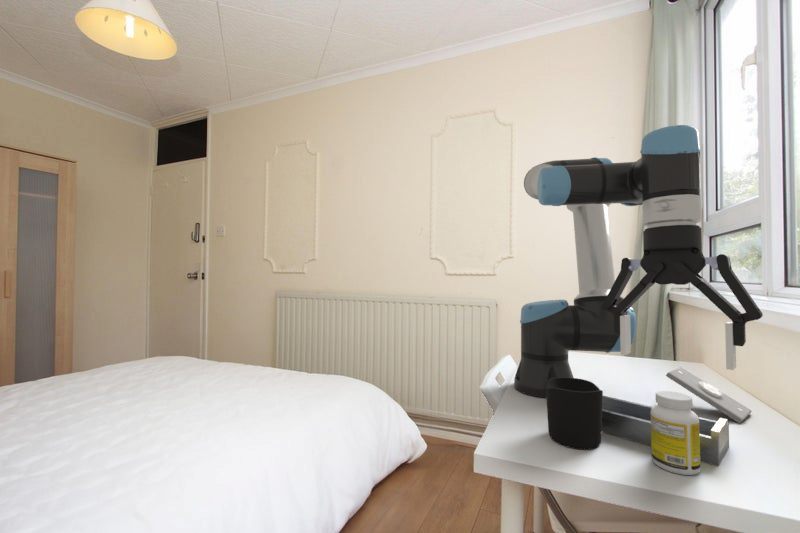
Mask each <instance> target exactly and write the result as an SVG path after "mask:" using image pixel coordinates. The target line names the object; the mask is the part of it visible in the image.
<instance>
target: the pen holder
mask: <svg viewBox="0 0 800 533" xmlns="http://www.w3.org/2000/svg"><path fill="white" fill-rule="evenodd" d="M603 393H604V392H603V390H601V389H600V388H599V387H598V386H597V385H596V384H595V383H594V382H592V381H590V380H587V379H583V378H577V377H576V378H575V377H574V378H567V377H558V378H551V379H549V380H548V381H547V383H546V397H547V398H546V412H547V428H548V435H549V437H550V438H551V440H552V441H553V442H554V443H556V444H559V445H561V446H563V447H566V448H570V449H575V450H593V449H596V448H598V447H599V446H600V445H601V444H602V432H601V429H602V399H603V396H604V394H603Z"/></svg>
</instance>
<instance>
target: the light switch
mask: <svg viewBox="0 0 800 533" xmlns="http://www.w3.org/2000/svg"><path fill="white" fill-rule="evenodd" d="M665 376H666V377H667V378H668V379H670V380H671V381H673V382H675V383H676V384H678V386H679V385H680V386H681V387H683V388H684V389H685V390H687V391H688V392H690V393H692V394H693V395H694V396H696V397H698V398H699V399H701V400H702V401H704V402H706V403H707V404H709V405H710V406H712V407H713V408H715V409H716V410H718V411H719V412H721V413H722V414H724V415H726V416H727V417H729V418H730V419H732V420H734V421H735V422H737V423H739V424H741V423H742V422H743V421H744V420H745V419H746V418H748V417H749V415H750V414H751V413H752V410H751V409H750V408H749V407H747V406H746V405H743V403H740V402H739V401H737V400H736V399H734V398H732V397H731V396H730V395H727V394H726V393H724V392H723V391H721V390H720V389H718V388H716V387H715V385H711V384H709V383H708V382H706V381H704V380H703V379H701V378H700V377H699V376H696V375H694V374H693V373H691V372H690V371H688V370H687V369H685V368H683V367H681V366H680V367H678V368H675V369H673V370H670V371H669V372H667V373H666V374H665Z"/></svg>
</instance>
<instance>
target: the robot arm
mask: <svg viewBox="0 0 800 533" xmlns="http://www.w3.org/2000/svg"><path fill="white" fill-rule="evenodd" d="M640 147H641V148H640V151H639V152H640V153H639V154H641V157H640V158H639V159H637V160H636V161H630V162H629V161H626V162H614V161H613V160H612V159H610V158H608V157H601V158H600V157H591V158H579V159H564V160H563V159H561V160H559V159H558V160H557V159H555V160H551V161H545V162H542V163H539V164H537V165H534V166H533V167H532V168H531V169H529V170H528V171H527V172H526V174H525V176H524V178H523V187H524V190H525V193H526V194H527V195H528V196H529V197H531V198H532V199H535V200H537V201H538V203H539V204H540V205H541V206H552V207H561V206H566V208H567V210H569V211H570V212H571V213H572V217H573V228H574V229H573V232H574V242H575V256H576V267H577V278H578V280H577V281H578V290H579V291H578V292H579V293H578V294H577V295H576V296H575V297H574V298H573V305H570V304H569V303H568V301H567V300H566V299H552V300H551V299H549V300H548V299H547V300H541V301H540V300H539V301H532V302H528V303H525V304H523V306H522V307H521V310H520V320H519V323H520V360H519V363H518V367H517V369H516V373H515V376H514V381H513V382H514V383H513V384H514V389H515V390H516V391H519V392H520V393H522V394H525V395H529V396H533V397H539V398H544V399H545V398H546V399H547V397H546V383H547V381H548V380H549V379H551V378H558V377H567V378H575V377H574V374H573V371H572V368H571V366H570V362H569V351H575V352H576V351H577V352H579V351H580V352H599V353H600V352H601V353H620V355H624V356H626V355H629V354H631V353H632V344H633V343H634V340H635V336H636V332H637V316H636V313H635V310H634V308H633V307H632V306H633V305H634V304H635V303H636V302H638V300H639V299H640V298H641V297H642V296H643V295H644V294H645V293H646V292H647V291H648V290H649V289H650V288H651V287H653V286H654V285H655V284H658V285H672V284H673V285H680V286H681V285H683V286H684V285H687V284H691V285H693V287H695V288H696V289H697V290H698V291H699V292H701V293H702V294H703V295H704V297H706V298H707V299H708V300H709V301H710V302H711V303H712V304H714V305H715V307H717V308H718V309H719V311H721V312H722V313H723V314H724V315H725V316H726V317H728V318H729V320H731V321H727V322H725V323H724V328H725V330H724V333H725V366H726V367H725V369H726V370H730V371H734V370H735V369H736V368H737V350H736V349H737V348H736V347H744V346H745V344H746V343H747V340H746V337H747V336H746V334H747V333H746V324H747V323H748V322H752V321H758V320H760V319H761V318H763V312H762V311H761V309H760V307H759V306H758V305H757V303H756V302H755V300H754V299H753V297H752V296H751V295H750V293H749V292H748V290H747V289H746V288H745V286H744V285H743V283H742V282H741V280H740V279H739V277H738V276H737V275H736V273H735V272H734V271H733V268H732V262H731V258H730V256H729V255H727V254H724V253H723V254H722V253H720V254H718V255H717V256H716V255H715V256H708V257H705V256H704V254H703V247H702V246H703V242H702V238H703V237H702V234H703V233H702V232H703V231H702V227H701V225H697V224H698V223H701V221H702V197H701V152H702V149H701V147H700V138H699V131H698V129H697V128H696V127H694V126H692V125H687V124H680V125H679V124H678V125H670V126H669V125H668V126H664V127H660V128H658V129H654V130H652V131H649V132H648V133H647V134H645V135H644V136H643V138H642V140H641V146H640ZM612 204H621V205H623V206H626V207H638V206H642V225H643V226H644V227H647V228H645V229H644V230H643V231H642V233H643V235H642V236H643V237H642V240H643V242H642V244H643V245H642V246H643V247H642V248H643V250H642V251H643V256H642V257H641V259H639V258H638V259H635V258H632V257H623V258H622V259H621V262H620V263H621V264H620V265H621V266H620V271H619V273H618V275H617V277H616V279H615V269H614V260H613V250H612V241H611V240H612V239H611V232H610V223H609V214H608V208H609V207H610V205H612ZM707 265H710V267H711V268H712V270H714V271H718V272H719V274H720V277H722V280H723V281H724V283H726V285H727V286H728V288H729V289H730V292H732V294H733V295H734V297H735V298H736V300H737V301H738V303H739V304H740V305H741V307H742V308H743V309H744V311H745V312H743V313H742V312H741V311H740V310H739V309H737V307H736V306H734V305H733V304H732V303H731V302H730V301H729V300H727V298H726V297H724V296H723V295H722V294H721V293H720V292H719V291H718V290H717V289H715V287H713V286H712V285H711V284H710V283H709V282H708V281H707V280H706V278H704V277H703V276H702V275H701V274H700V273H701V272H702V270H703V269H704V268H705V267H706V266H707ZM639 267H641V268H642V269H643V270H644V272H645V273H646V274H645V275H644V276H643V277H642V278H641V279H640V280H639V282H638V283H637V284H636V286H634V287H633V288H632V289H631V290H630V292H629V293H628V294H626V296H625V297H623V296H622V294H623V293H624V290H625V289H626V286H627V284H628V283H629V281H630V279H631V277H632V275H633V274H634V273H633V272H636V271H637V270H638V268H639Z"/></svg>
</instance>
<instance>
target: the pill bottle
mask: <svg viewBox="0 0 800 533" xmlns="http://www.w3.org/2000/svg"><path fill="white" fill-rule="evenodd" d="M693 402H694V401H693V397H692V396H690V395H689V394H686V393H682V392H677V391H671V390H660V391H659V390H658V391H656V392H655V403H656V405H654V406H652V409H651V446H650V447H651V459H652V460H651V461H653V463H655V465H656V466H658V467H659V468H661V469H663V470H665V471H667V472H669V473H673V474H676V475H683V476H693V475H694V476H695V475H697V474H699V473H700V472H701V466H702V465H701V461H700V434H699V418H698V417H699V416H698V414H696V412H694V411H693V410H691V409H692V408H693V406H694V405H693Z"/></svg>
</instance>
